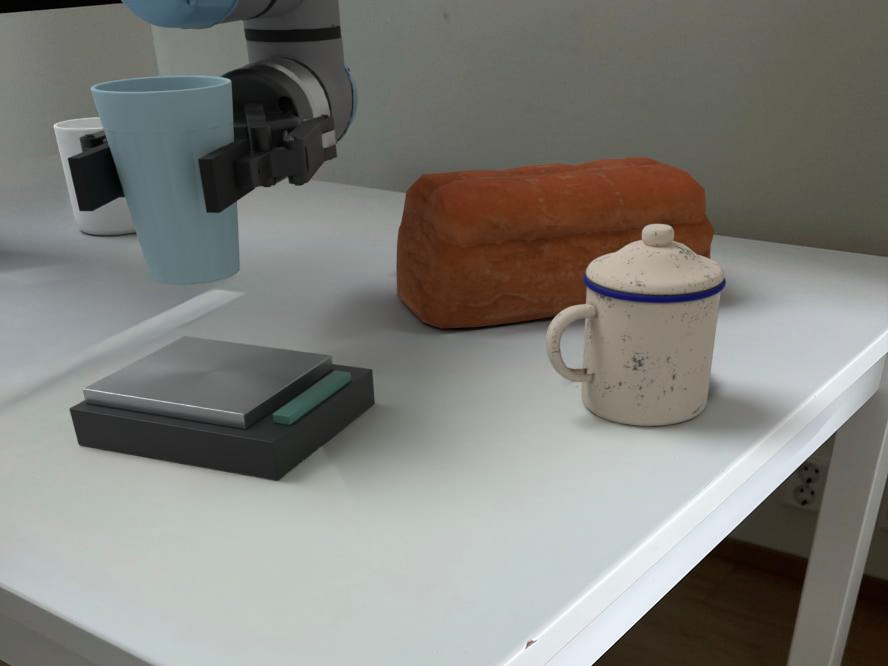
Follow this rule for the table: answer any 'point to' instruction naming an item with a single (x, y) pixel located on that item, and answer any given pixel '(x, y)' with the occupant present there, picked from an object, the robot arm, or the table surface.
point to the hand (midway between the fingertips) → (144, 185)
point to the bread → (532, 235)
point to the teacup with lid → (645, 331)
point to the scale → (223, 406)
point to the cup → (172, 171)
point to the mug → (97, 222)
